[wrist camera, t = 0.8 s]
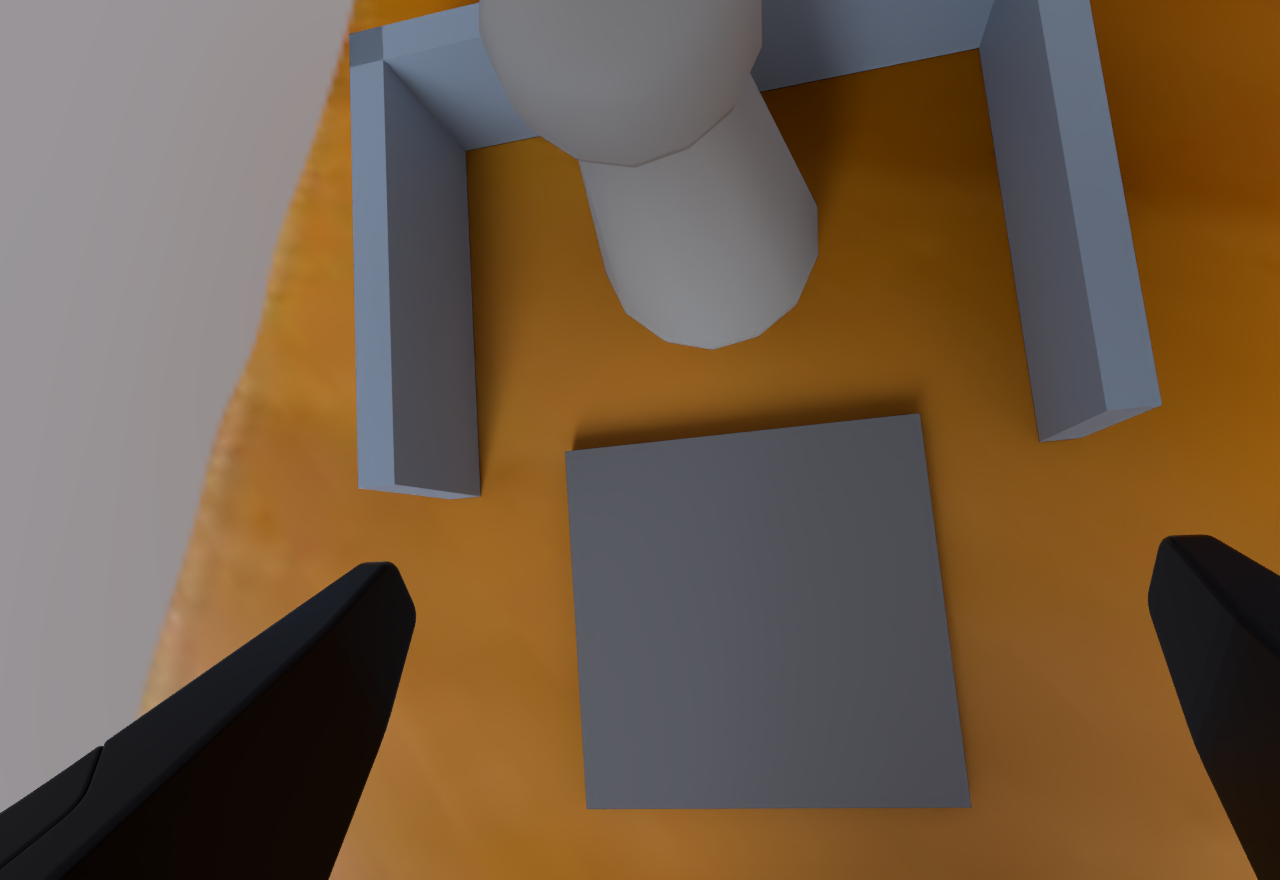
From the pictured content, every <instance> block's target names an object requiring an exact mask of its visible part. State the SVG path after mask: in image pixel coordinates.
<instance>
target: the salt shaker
mask: <svg viewBox="0 0 1280 880" xmlns="http://www.w3.org/2000/svg"><path fill="white" fill-rule="evenodd" d="M479 33H480V35H481V38H482V41H483V43H484V46H485V48H486V51H487V54H488V56H489V59H490V61H491V63H492V65H493V67H494V69H495V71H496V74H497V76H498V78H499V80H500V82H501V84H502V86H503V88H504V90H505V92H506V94H507V96H508V99H509V101H510V103H511V105H512V107H513V109H514V110H515V111H516V113H517V114H518V115H519V116H520V117H521V119H522V120H523V121H524V122H525V124H526V125H527V126H528V127H529V128H530V129H531V130H532V131H534V132H535V133H537V134H538V135H540V136H541V137H543V138H544V139H546V140H547V141H549V142H551V143H552V144H554V145H555V146H557V147H558V148H560V149H561V150H563V151H564V152H566V153H567V154H569V155H571V156H572V157H574V158H576V159H578V161H579V165H580V169H581V173H582V177H583V181H584V185H585V189H586V193H587V197H588V202H589V206H590V210H591V214H592V218H593V222H594V226H595V230H596V234H597V238H598V242H599V247H600V251H601V255H602V259H603V263H604V267H605V271H606V274H607V276H608V278H609V280H610V282H611V284H612V286H613V288H614V290H615V292H616V294H617V296H618V298H619V300H620V302H621V304H622V306H623V308H624V310H625V312H626V314H628V315H629V316H631V317H632V318H633V319H635V320H636V321H638V322H639V323H640V324H642V325H643V326H644V327H646V328H647V329H649V330H650V331H651V332H653V333H654V334H656V335H657V336H658V337H660V338H661V339H663V340H664V341H666V342H668V343H674V344H681V345H687V346H693V347H699V348H705V349H711V350H714V349H718V348H721V347H725V346H728V345H731V344H735V343H738V342H742V341H745V340H748V339H752V338H755V337H758V336H760V335H761V334H762V333H763V332H764V331H766V330H767V329H768V328H769V327H770V326H772V325H773V324H774V323H775V322H777V321H778V320H779V319H780V318H781V317H783V316H784V315H785V314H786V313H787V312H789V311H790V310H791V309H792V308H793V307H795V306H796V304H797V302H798V300H799V298H800V295H801V293H802V291H803V289H804V286H805V284H806V282H807V279H808V277H809V275H810V273H811V270H812V268H813V266H814V263H815V261H816V259H817V257H818V210H817V205H816V203H815V201H814V199H813V197H812V195H811V193H810V191H809V189H808V187H807V185H806V183H805V181H804V179H803V177H802V175H801V173H800V171H799V169H798V167H797V165H796V163H795V161H794V159H793V157H792V155H791V153H790V151H789V149H788V147H787V145H786V143H785V142H784V140H783V138H782V136H781V134H780V132H779V130H778V128H777V126H776V124H775V122H774V120H773V118H772V116H771V114H770V112H769V110H768V108H767V106H766V104H765V102H764V100H763V98H762V96H761V94H760V92H759V90H758V88H757V86H756V84H755V82H754V80H753V78H752V76H751V74H750V72H751V69H752V67H753V65H754V63H755V60H756V58H757V56H758V54H759V51H760V49H761V47H762V13H761V0H479Z"/></svg>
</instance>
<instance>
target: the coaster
mask: <svg viewBox="0 0 1280 880" xmlns="http://www.w3.org/2000/svg"><path fill="white" fill-rule="evenodd" d="M565 458H566V475H567V491H568V508H569V524H570V541H571V557H572V574H573V590H574V606H575V623H576V639H577V656H578V672H579V689H580V705H581V722H582V738H583V755H584V771H585V788H586V804H587V809H727V808H971V801H970V793H969V786H968V778H967V771H966V763H965V755H964V748H963V740H962V732H961V725H960V717H959V710H958V702H957V694H956V687H955V679H954V671H953V664H952V656H951V648H950V641H949V633H948V626H947V618H946V610H945V603H944V595H943V587H942V580H941V572H940V565H939V557H938V549H937V542H936V534H935V526H934V519H933V511H932V504H931V496H930V488H929V481H928V473H927V465H926V458H925V450H924V443H923V435H922V427H921V420H920V413H917V414H908V415H899V416H889V417H880V418H871V419H862V420H852V421H843V422H834V423H825V424H815V425H806V426H797V427H787V428H778V429H769V430H760V431H750V432H741V433H732V434H723V435H713V436H704V437H695V438H685V439H676V440H667V441H658V442H648V443H639V444H630V445H621V446H611V447H602V448H593V449H583V450H574V451H565Z"/></svg>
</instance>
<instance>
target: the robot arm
mask: <svg viewBox="0 0 1280 880" xmlns="http://www.w3.org/2000/svg"><path fill="white" fill-rule="evenodd" d="M1148 606H1149V611H1150V615H1151V618H1152V621H1153V624H1154V627H1155V630H1156V633H1157V636H1158V639H1159V642H1160V645H1161V648H1162V651H1163V654H1164V657H1165V660H1166V663H1167V666H1168V669H1169V672H1170V675H1171V678H1172V681H1173V684H1174V687H1175V689H1176V692H1177V695H1178V698H1179V701H1180V704H1181V707H1182V710H1183V713H1184V716H1185V719H1186V722H1187V725H1188V728H1189V730H1190V733H1191V736H1192V739H1193V741H1194V744H1195V747H1196V749H1197V751H1198V753H1199V756H1200V758H1201V760H1202V762H1203V765H1204V767H1205V769H1206V771H1207V773H1208V776H1209V778H1210V780H1211V782H1212V784H1213V786H1214V788H1215V790H1216V792H1217V794H1218V797H1219V799H1220V801H1221V803H1222V805H1223V807H1224V809H1225V811H1226V813H1227V816H1228V818H1229V820H1230V822H1231V824H1232V826H1233V828H1234V830H1235V832H1236V834H1237V837H1238V839H1239V841H1240V843H1241V845H1242V847H1243V849H1244V851H1245V853H1246V855H1247V858H1248V860H1249V862H1250V864H1251V866H1252V868H1253V870H1254V872H1255V874H1256V877H1257V879H1258V880H1280V576H1279V575H1277V574H1276V573H1274V572H1272V571H1271V570H1269V569H1267V568H1266V567H1264V566H1262V565H1260V564H1259V563H1257V562H1255V561H1254V560H1252V559H1250V558H1249V557H1247V556H1245V555H1243V554H1242V553H1240V552H1238V551H1237V550H1235V549H1233V548H1232V547H1230V546H1228V545H1226V544H1225V543H1223V542H1221V541H1220V540H1218V539H1216V538H1214V537H1212V536H1209V535H1173V536H1168V537H1166V538H1164V539H1163V540H1162V542H1161V543H1160V545H1159V548H1158V553H1157V557H1156V561H1155V566H1154V570H1153V574H1152V579H1151V583H1150V587H1149V592H1148ZM415 623H416V611H415V606H414V603H413V601H412V599H411V597H410V594H409V592H408V590H407V588H406V585H405V583H404V581H403V579H402V577H401V574H400V572H399V570H398V568H397V567H396V566H395V565H394V564H393V563H391V562H366V563H362V564H360V565H358V566H356V567H355V568H353V569H352V570H351V571H349V572H348V573H346V574H345V575H343V576H342V577H341V578H339V579H338V580H336V581H335V582H333V583H332V584H331V585H329V586H328V587H326V588H325V589H323V590H322V591H321V592H319V593H318V594H316V595H315V596H313V597H312V598H311V599H309V600H308V601H306V602H305V603H303V604H302V605H300V606H299V607H298V608H296V609H295V610H293V611H292V612H290V613H289V614H288V615H286V616H285V617H283V618H282V619H280V620H279V621H278V622H276V623H275V624H273V625H272V626H270V627H269V628H268V629H266V630H265V631H263V632H262V633H260V634H259V635H258V636H256V637H255V638H253V639H252V640H250V641H249V642H247V643H246V644H245V645H243V646H242V647H240V648H239V649H237V650H236V651H235V652H233V653H232V654H230V655H229V656H227V657H226V658H225V659H223V660H222V661H220V662H219V663H217V664H216V665H215V666H213V667H212V668H210V669H209V670H207V671H206V672H205V673H203V674H202V675H200V676H199V677H197V678H196V679H194V680H193V681H192V682H190V683H189V684H187V685H186V686H184V687H183V688H182V689H180V690H179V691H177V692H176V693H174V694H173V695H172V696H170V697H169V698H167V699H166V700H164V701H163V702H162V703H160V704H159V705H157V706H156V707H154V708H153V709H152V710H150V711H149V712H147V713H146V714H144V715H143V716H141V717H140V718H139V719H137V720H136V721H134V722H133V723H132V724H130V725H129V726H127V727H126V728H125V729H123V730H121V731H120V732H119V733H117V734H116V735H114V736H113V737H111V738H110V739H109V740H107V741H106V742H105V744H104V746H99V747H97V748H95V749H94V750H92V751H91V752H90V753H88V754H87V755H86V756H84V757H83V758H81V759H80V760H78V761H77V762H75V763H74V764H73V765H71V766H70V767H68V768H67V769H66V770H64V771H62V772H61V773H60V774H58V775H57V776H55V777H54V778H52V779H51V780H49V781H48V782H47V783H45V784H43V785H42V786H40V787H39V788H37V789H36V790H34V791H33V792H32V793H30V794H29V795H27V796H26V797H24V798H23V799H21V800H20V801H18V802H17V803H15V804H14V805H12V806H11V807H9V808H7V809H6V810H4V811H3V812H1V813H0V880H329V877H330V874H331V872H332V869H333V867H334V864H335V861H336V859H337V856H338V854H339V851H340V849H341V846H342V843H343V841H344V838H345V836H346V833H347V830H348V828H349V825H350V823H351V820H352V818H353V815H354V812H355V810H356V807H357V805H358V802H359V799H360V797H361V794H362V792H363V789H364V787H365V784H366V781H367V779H368V776H369V774H370V771H371V768H372V766H373V763H374V761H375V758H376V756H377V753H378V750H379V748H380V745H381V742H382V739H383V737H384V734H385V731H386V728H387V725H388V721H389V718H390V715H391V712H392V708H393V704H394V701H395V697H396V693H397V690H398V686H399V682H400V679H401V675H402V671H403V668H404V664H405V660H406V657H407V653H408V649H409V646H410V642H411V638H412V635H413V631H414V627H415Z"/></svg>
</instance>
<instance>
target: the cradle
mask: <svg viewBox="0 0 1280 880" xmlns="http://www.w3.org/2000/svg"><path fill="white" fill-rule="evenodd" d="M761 13H762V47H761V49H760V51H759V54H758V56H757V58H756V60H755V63H754V65H753V67H752V69H751V72H750V74H751V76H752V78H753V80H754V82H755V84H756V86H757V88H758V90H759V92H761V91H766V90H771V89H776V88H781V87H786V86H791V85H796V84H801V83H806V82H811V81H816V80H821V79H826V78H831V77H836V76H841V75H846V74H851V73H856V72H861V71H866V70H871V69H876V68H881V67H886V66H891V65H896V64H901V63H906V62H911V61H916V60H921V59H925V58H930V57H935V56H940V55H945V54H950V53H955V52H960V51H965V50H970V49H975V48H979V52H980V58H981V65H982V71H983V78H984V84H985V91H986V97H987V104H988V110H989V117H990V123H991V130H992V136H993V143H994V149H995V156H996V162H997V169H998V175H999V182H1000V188H1001V195H1002V201H1003V208H1004V214H1005V220H1006V227H1007V233H1008V240H1009V246H1010V253H1011V259H1012V266H1013V272H1014V279H1015V285H1016V292H1017V298H1018V305H1019V311H1020V318H1021V324H1022V331H1023V337H1024V344H1025V350H1026V357H1027V363H1028V370H1029V376H1030V383H1031V389H1032V396H1033V402H1034V409H1035V415H1036V422H1037V428H1038V435H1039V441H1040V442H1045V441H1056V440H1066V439H1076V438H1082V437H1085V436H1087V435H1090V434H1092V433H1094V432H1097V431H1099V430H1102V429H1104V428H1107V427H1109V426H1112V425H1114V424H1117V423H1119V422H1122V421H1124V420H1126V419H1129V418H1131V417H1134V416H1136V415H1139V414H1141V413H1144V412H1146V411H1149V410H1151V409H1154V408H1156V407H1158V406H1161V405H1162V403H1161V397H1160V392H1159V386H1158V381H1157V375H1156V369H1155V364H1154V358H1153V353H1152V347H1151V341H1150V336H1149V330H1148V325H1147V319H1146V314H1145V308H1144V302H1143V297H1142V291H1141V286H1140V280H1139V275H1138V269H1137V263H1136V258H1135V252H1134V247H1133V241H1132V235H1131V230H1130V224H1129V219H1128V213H1127V208H1126V202H1125V196H1124V191H1123V185H1122V180H1121V174H1120V169H1119V163H1118V157H1117V152H1116V146H1115V141H1114V135H1113V129H1112V124H1111V118H1110V113H1109V107H1108V102H1107V96H1106V90H1105V85H1104V79H1103V74H1102V68H1101V62H1100V57H1099V51H1098V46H1097V40H1096V35H1095V29H1094V23H1093V18H1092V12H1091V7H1090V1H1089V0H761ZM349 45H350V95H351V145H352V195H353V245H354V295H355V345H356V395H357V445H358V488H361V489H369V490H378V491H386V492H395V493H403V494H411V495H420V496H428V497H436V498H445V499H459V498H469V497H479V496H481V495H480V472H479V449H478V426H477V403H476V380H475V358H474V335H473V312H472V289H471V266H470V243H469V220H468V197H467V175H466V152H465V151H467V150H472V149H477V148H482V147H487V146H492V145H497V144H502V143H507V142H512V141H517V140H522V139H527V138H532V137H537V136H540V135H538V134H537V133H535V132H534V131H532V130H531V129H530V128H529V127H528V126H527V125H526V124H525V122H524V121H523V120H522V119H521V117H520V116H519V115H518V114H517V113H516V111H515V110H514V109H513V107H512V105H511V103H510V101H509V99H508V96H507V94H506V92H505V90H504V88H503V86H502V84H501V82H500V80H499V78H498V76H497V74H496V71H495V69H494V67H493V65H492V63H491V61H490V59H489V56H488V54H487V51H486V48H485V46H484V43H483V41H482V38H481V35H480V33H479V3H475V4H471V5H467V6H463V7H458V8H454V9H450V10H446V11H442V12H438V13H434V14H430V15H426V16H422V17H418V18H413V19H409V20H405V21H401V22H397V23H393V24H389V25H385V26H381V27H377V28H372V29H368V30H364V31H360V32H356V33H352V34H349Z"/></svg>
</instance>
